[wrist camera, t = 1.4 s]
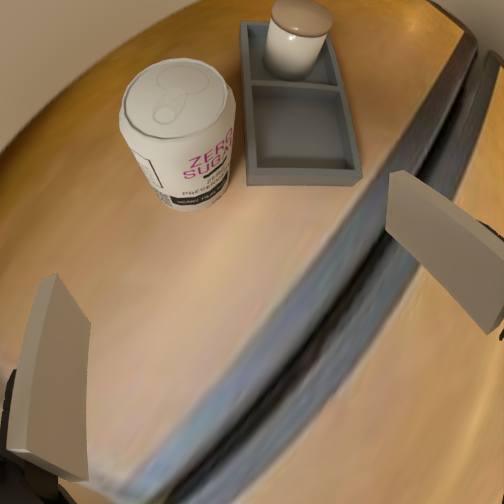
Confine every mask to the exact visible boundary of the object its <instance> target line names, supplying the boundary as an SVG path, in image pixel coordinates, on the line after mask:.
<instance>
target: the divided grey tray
mask: <svg viewBox="0 0 504 504" xmlns="http://www.w3.org/2000/svg"><path fill="white" fill-rule="evenodd" d="M269 25H270V22H252V21H241V23H240V32H239V43H240V62H241V82H242V101H243V120H244V140H245V159H246V178H247V186H266V185H307V186H354V185H355V184H356V183H357V182H358V181H359V180H361V179H362V178H363V174H362V168H361V163H360V157H359V152H358V146H357V141H356V136H355V131H354V127H353V122H352V117H351V113H350V109H349V104H348V100H347V96H346V92H345V88H344V84H343V80H342V76H341V72H340V69H339V65H338V62H337V58H336V55H335V51H334V48H333V44H332V41H331V38H330V35H329V32H328V34H327V36H326V38H325V41H324V43H323V45H322V48H321V50H320V52H319V55H318V57H317V60H316V62H315V64H314V67H313V69H312V72H311V74H310V75H309V76H308V77H307V78H306V79H304V80H301V81H297V82H288V81H283V80H280V79H277V78H275V77H273V76H272V75H270V74H269V73H268V72H267V71H266V70H265V68H264V66H263V63H262V59H263V54H264V49H265V44H266V39H267V34H268V29H269Z"/></svg>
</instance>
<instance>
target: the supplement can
mask: <svg viewBox="0 0 504 504" xmlns="http://www.w3.org/2000/svg"><path fill="white" fill-rule="evenodd" d="M235 110H236V103H235V99H234V96H233V92H232V89H231V88H230V87H229V86H228V84H227V83H226V82H225V81H224V78H223V77H222V76H221V75H220V74H219V73H218V71H217V70H216V69H215V68H214V67H212V66H210V65H208V64H206V63H204V62H202V61H199V60H194V59H188V58H178V59H168V60H165V61H162V62H159V63H156V64H153V65H151V66H149V67H148V68H146V69H145V70H143V71H142V72H141V73H139V74H138V75H137V76H136V77H135V78H134V79H133V80H132V82H131V83H130V84H129V85H128V87H127V89H126V91H125V94H124V97H123V100H122V107H121V110H120V112H119V121H120V131H121V133H122V135H123V136H124V138H125V140H126V142H127V144H128V145H129V147H130V149H131V151H132V152H133V154H134V156H135V158H136V160H137V161H138V163H139V165H140V167H141V168H142V170H143V172H144V174H145V175H146V177H147V179H148V180H149V182H150V184H151V186H152V187H153V189H154V191H155V192H156V194H157V196H158V197H159V199H160V201H162V202H163V203H164V204H166V205H167V206H168V207H170V208H171V209H175V210H178V211H181V212H197V211H200V210H203V209H205V208H207V207H210V206H212V205H213V204H214V203H215V202H216V201H217V200H218V199H220V198H221V197H222V195H223V193H224V191H225V189H226V188H227V186H228V180H229V173H230V162H231V151H232V141H233V130H234V120H235Z"/></svg>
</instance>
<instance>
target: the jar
mask: <svg viewBox="0 0 504 504" xmlns="http://www.w3.org/2000/svg"><path fill="white" fill-rule="evenodd" d="M332 24H333V18H332V15H331V14H330V12H329V11H328V10H327V9H326V8H324V7H323V6H322V5H320V4H318V3H316V2H314V1H311V0H277V1H276V2H275V3H274V4H273V6H272V11H271V20H270V25H269V29H268V34H267V39H266V44H265V49H264V54H263V59H262V63H263V66H264V68H265V70H266V71H267V72H268V73H269V74H270V75H272V76H273V77H275V78H277V79H280V80H283V81H288V82H297V81H301V80H304V79H306V78H307V77H308V76H309V75H310V74H311V72H312V69H313V67H314V64H315V62H316V60H317V57H318V55H319V52H320V50H321V48H322V45H323V43H324V41H325V38H326V36H327V34H328V32H329V31H330V29H331V26H332Z"/></svg>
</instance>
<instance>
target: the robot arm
mask: <svg viewBox="0 0 504 504" xmlns="http://www.w3.org/2000/svg"><path fill="white" fill-rule="evenodd" d="M385 230H386V231H387V232H388V233H389V234H390V235H392V236H393V237H394V238H395V239H396V240H397V241H398V242H399V243H400V244H401V245H402V246H403V247H404V248H405V249H406V250H407V251H408V252H409V253H410V254H411V255H412V256H413V257H415V258H416V259H417V260H418V261H419V262H420V263H421V264H422V265H423V266H424V267H425V268H426V269H427V270H428V271H429V272H430V273H431V275H432V276H433V277H434V278H435V279H436V280H437V281H438V282H439V283H440V284H441V285H442V286H443V287H444V288H445V289H446V290H447V291H448V292H449V293H450V294H451V295H452V297H453V298H454V299H455V300H456V301H457V302H458V303H459V304H460V305H461V306H462V307H463V309H464V310H465V311H466V312H467V313H468V314H469V315H470V316H471V318H472V319H473V320H474V321H475V322H476V323H477V324H478V326H479V327H480V328H481V329H482V330H483V331H484V333H485V334H486V335H488V334H489V333H491V332H492V331H493V330H494V329H496V328H497V327H498V326H499V325H500V324H501V322H502V320H503V318H504V238H503V237H502V236H501V235H498V233H497V232H496V231H494V230H493V229H492V228H491V227H489V226H488V225H486V224H484V223H482V222H480V221H478V220H476V219H474V218H473V217H472V216H470V215H469V214H468V213H466V212H465V211H464V210H462V209H461V208H459V207H458V206H457V205H455V204H454V203H453V202H451V201H450V200H448V199H447V198H446V197H444V196H443V195H441V194H440V193H438V192H437V191H435V190H434V189H432V188H431V187H429V186H428V185H426V184H425V183H423V182H422V181H420V180H419V179H417V178H416V177H414V176H413V175H411V174H409V173H408V172H406V171H405V170H401V171H397V172H393V173H390V176H389V193H388V206H387V218H386V228H385ZM90 327H91V323H90V321H89V320H88V318H87V317H86V316H85V314H84V313H83V311H82V310H81V309H80V307H79V306H78V304H77V303H76V301H75V300H74V298H73V297H72V295H71V294H70V292H69V291H68V289H67V288H66V286H65V285H64V283H63V282H62V280H61V279H60V277H59V275H58V274H57V273H56V274H54V275H51V276H48V277H45V278H43V279H41V282H40V285H39V288H38V291H37V294H36V297H35V300H34V304H33V307H32V310H31V314H30V317H29V321H28V324H27V328H26V332H25V336H24V340H23V344H22V348H21V352H20V357H19V361H18V366H17V369H15V370H13V372H12V374H11V376H10V378H9V380H8V382H7V386H6V391H5V400H4V404H3V410H4V411H2V418H1V426H0V504H77V503H76V502H75V501H74V500H73V498H72V497H71V496H70V495H69V493H68V492H67V491H66V490H65V489H64V488H63V487H62V486H61V485H60V484H58V477H60V478H62V479H64V480H67V481H69V482H83V481H89V475H88V461H87V441H86V386H87V364H88V350H89V338H90ZM503 338H504V329H503V331H502V332H501V334H500V337H499V340H500V341H502V339H503ZM502 504H504V495H503V500H502Z"/></svg>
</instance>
